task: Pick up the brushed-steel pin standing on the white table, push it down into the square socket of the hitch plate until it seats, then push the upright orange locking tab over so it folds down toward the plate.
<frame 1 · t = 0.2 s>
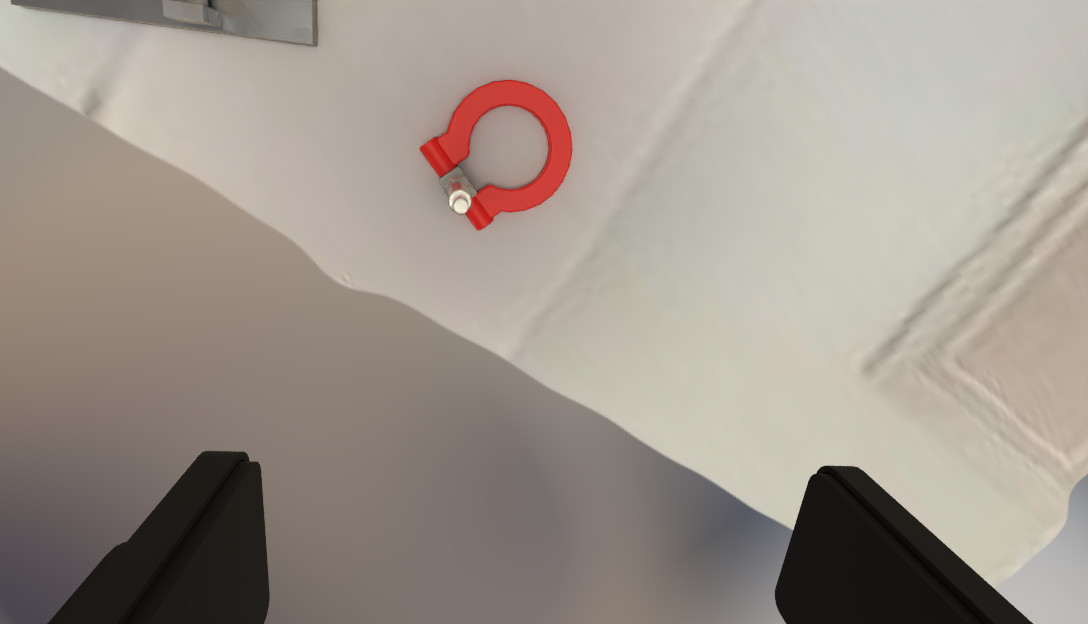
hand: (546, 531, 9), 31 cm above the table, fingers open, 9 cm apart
tow hook: (503, 151, 37), on the table
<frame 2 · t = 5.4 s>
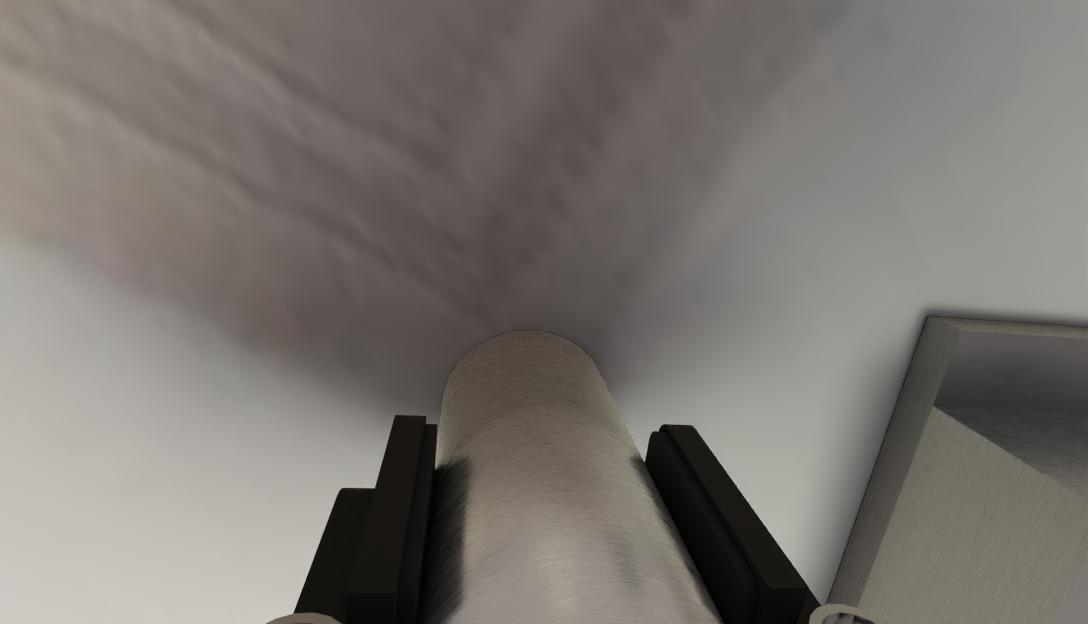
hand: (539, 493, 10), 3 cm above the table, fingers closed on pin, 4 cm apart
pin: (525, 406, 13), on the table, touching gripper
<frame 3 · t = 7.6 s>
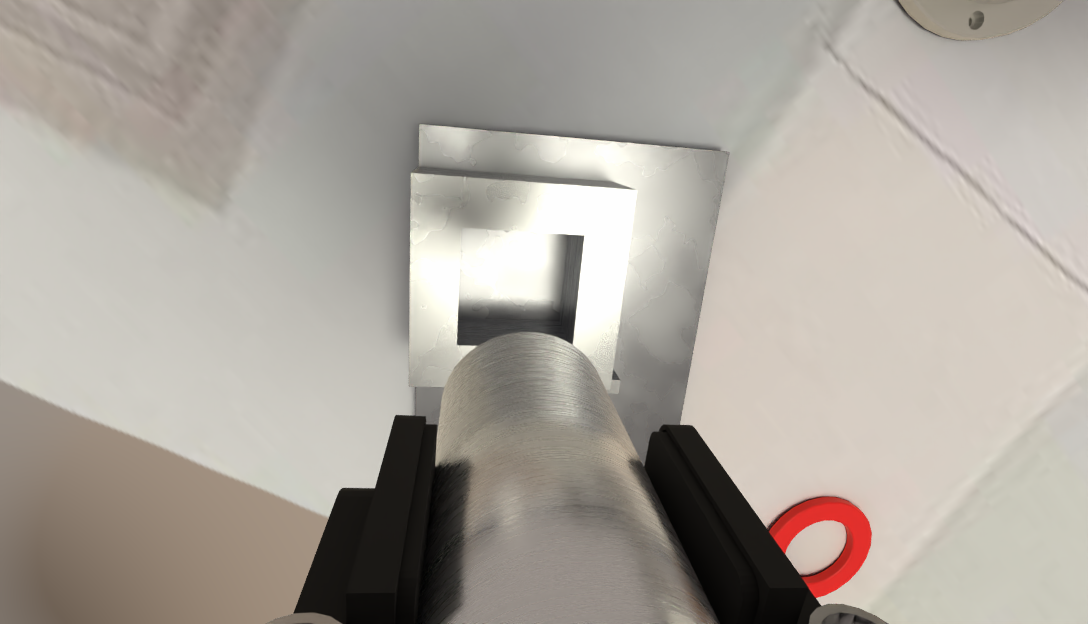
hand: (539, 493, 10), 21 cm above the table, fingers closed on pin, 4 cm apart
pin: (524, 408, 13), point 17 cm above the table, touching gripper
tow hook: (804, 544, 40), on the table
hitch plate: (558, 335, 32), on the table
when the fingers open (6 cm above the table, at t = 10.0 s): pin drops 1 cm, resting on hitch plate.
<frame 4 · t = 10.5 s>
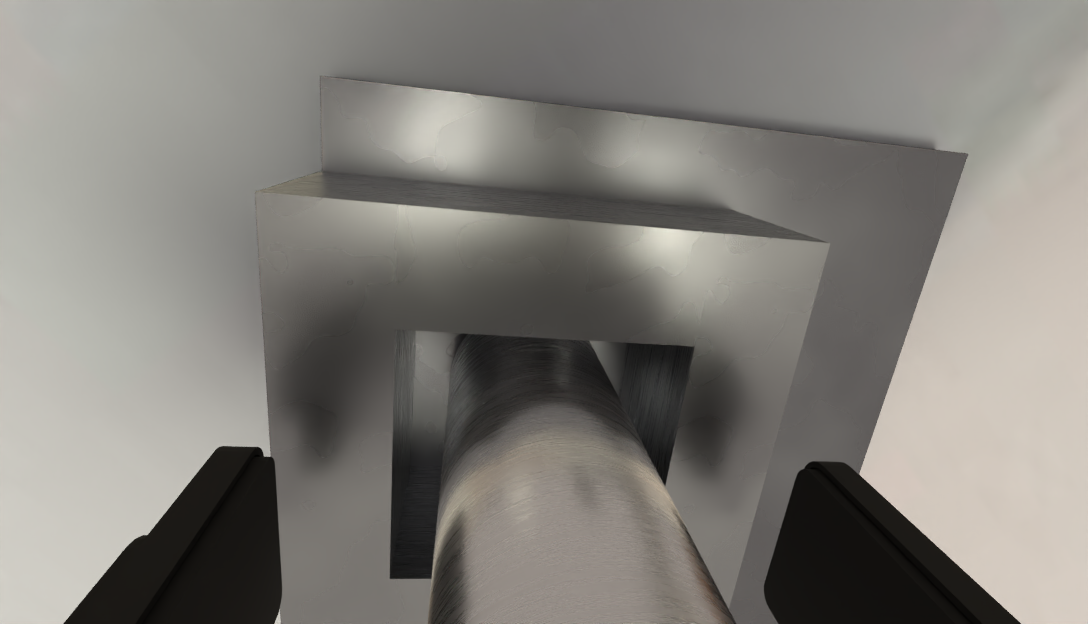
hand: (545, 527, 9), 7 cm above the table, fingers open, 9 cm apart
pin: (525, 378, 15), point 1 cm above the table, touching hitch plate
hitch plate: (599, 483, 17), on the table
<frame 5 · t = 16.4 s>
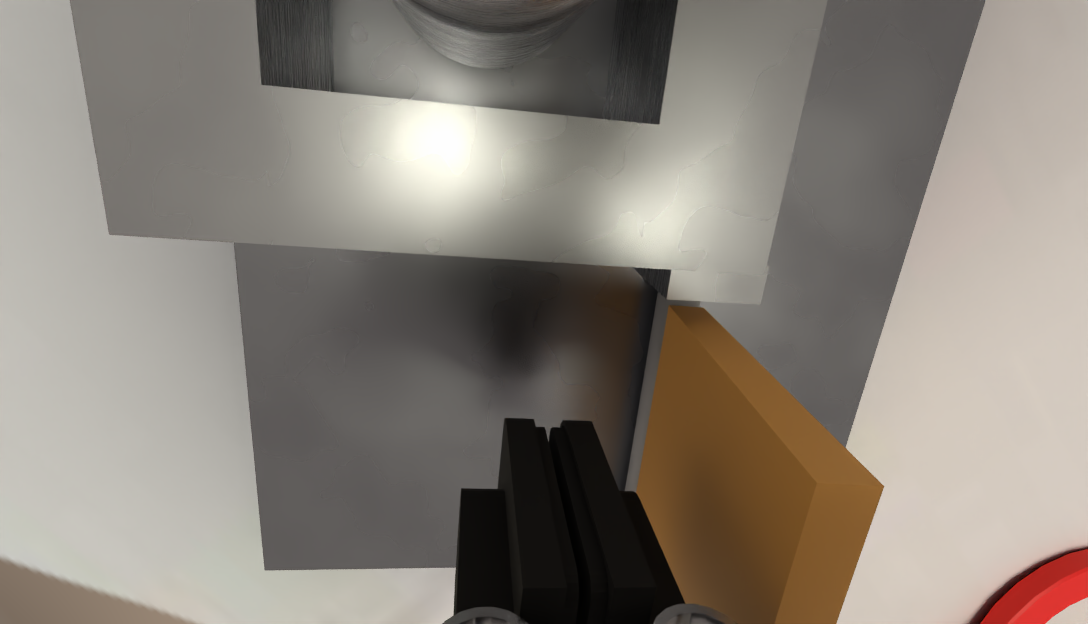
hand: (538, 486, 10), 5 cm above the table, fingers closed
hitch plate: (595, 175, 13), on the table
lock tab: (694, 514, 11), point 5 cm above the table, hinge at -3.9°, touching gripper
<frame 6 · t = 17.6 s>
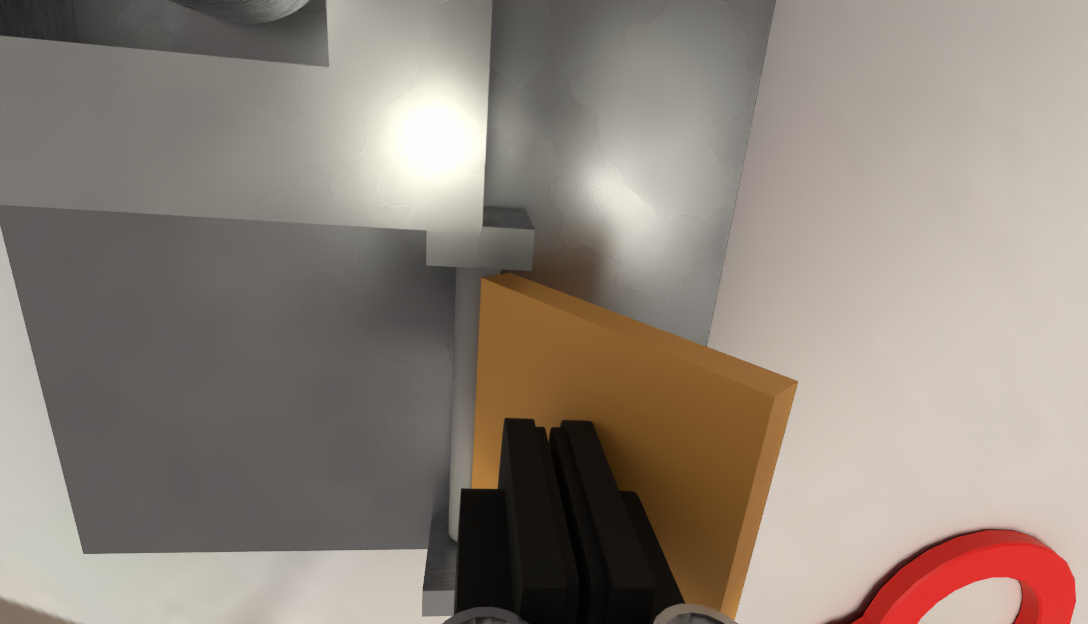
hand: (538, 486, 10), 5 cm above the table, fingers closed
tow hook: (936, 616, 21), on the table
hitch plate: (397, 141, 13), on the table
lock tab: (568, 469, 11), point 4 cm above the table, hinge at 38.2°, touching gripper
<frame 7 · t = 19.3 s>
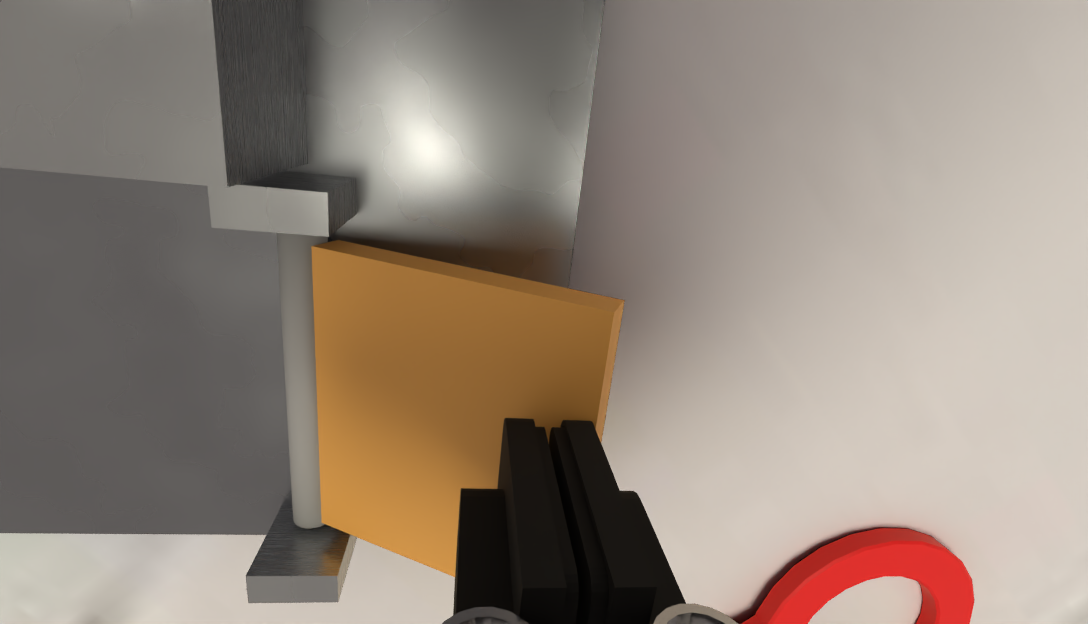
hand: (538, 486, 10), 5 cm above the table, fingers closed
tow hook: (836, 616, 20), on the table
hitch plate: (225, 104, 12), on the table
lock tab: (427, 421, 12), point 3 cm above the table, hinge at 63.0°, touching gripper
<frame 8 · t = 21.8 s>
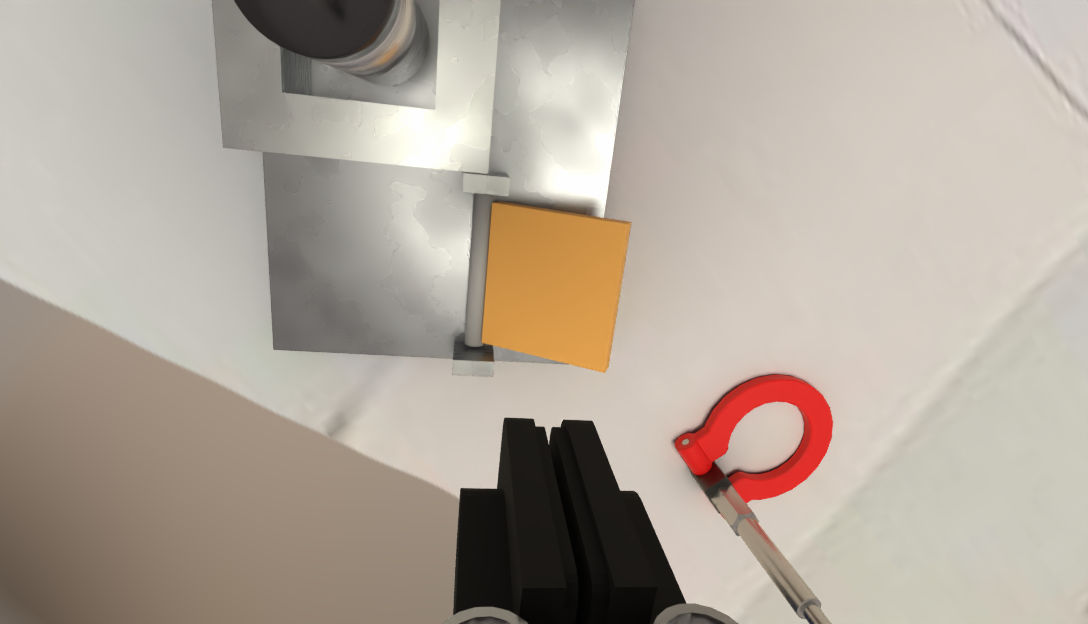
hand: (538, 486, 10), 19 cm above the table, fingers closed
pin: (381, 35, 23), point 1 cm above the table, touching hitch plate
tow hook: (754, 435, 34), on the table
hitch plate: (445, 139, 26), on the table
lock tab: (540, 284, 26), point 3 cm above the table, hinge at 63.1°
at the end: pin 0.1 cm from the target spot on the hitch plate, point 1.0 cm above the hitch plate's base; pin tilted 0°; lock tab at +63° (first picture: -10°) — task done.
